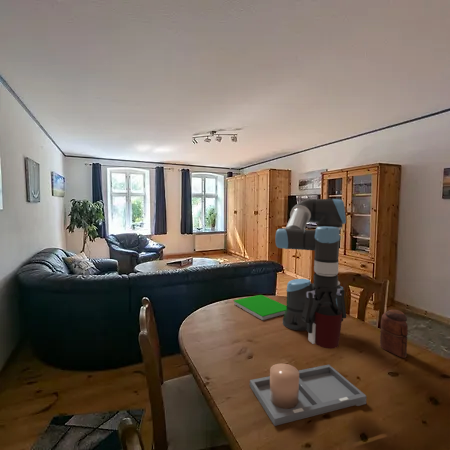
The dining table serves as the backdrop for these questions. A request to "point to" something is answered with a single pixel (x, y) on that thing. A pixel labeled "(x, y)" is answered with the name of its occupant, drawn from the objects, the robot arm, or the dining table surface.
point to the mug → (327, 327)
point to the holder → (311, 395)
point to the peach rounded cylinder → (284, 386)
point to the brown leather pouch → (394, 333)
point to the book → (261, 306)
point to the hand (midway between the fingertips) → (323, 340)
